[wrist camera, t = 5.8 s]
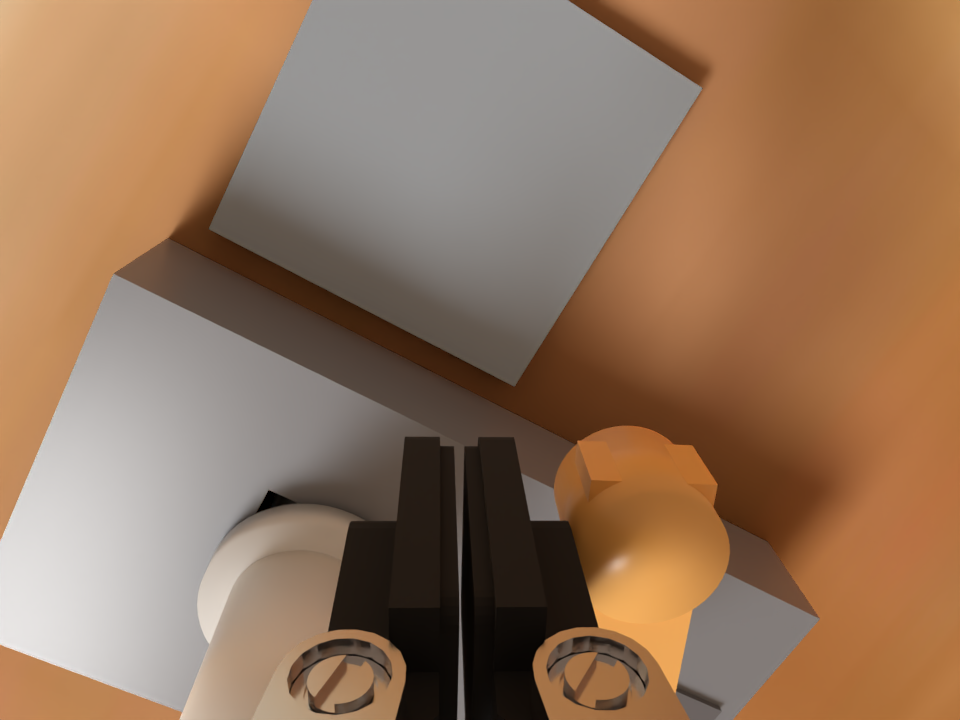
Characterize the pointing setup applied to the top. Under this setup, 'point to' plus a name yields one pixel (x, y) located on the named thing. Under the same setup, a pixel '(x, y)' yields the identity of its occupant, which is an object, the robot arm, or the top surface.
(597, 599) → the clip
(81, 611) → the grey slab
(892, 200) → the top surface
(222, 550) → the knob
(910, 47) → the top surface
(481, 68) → the mat
